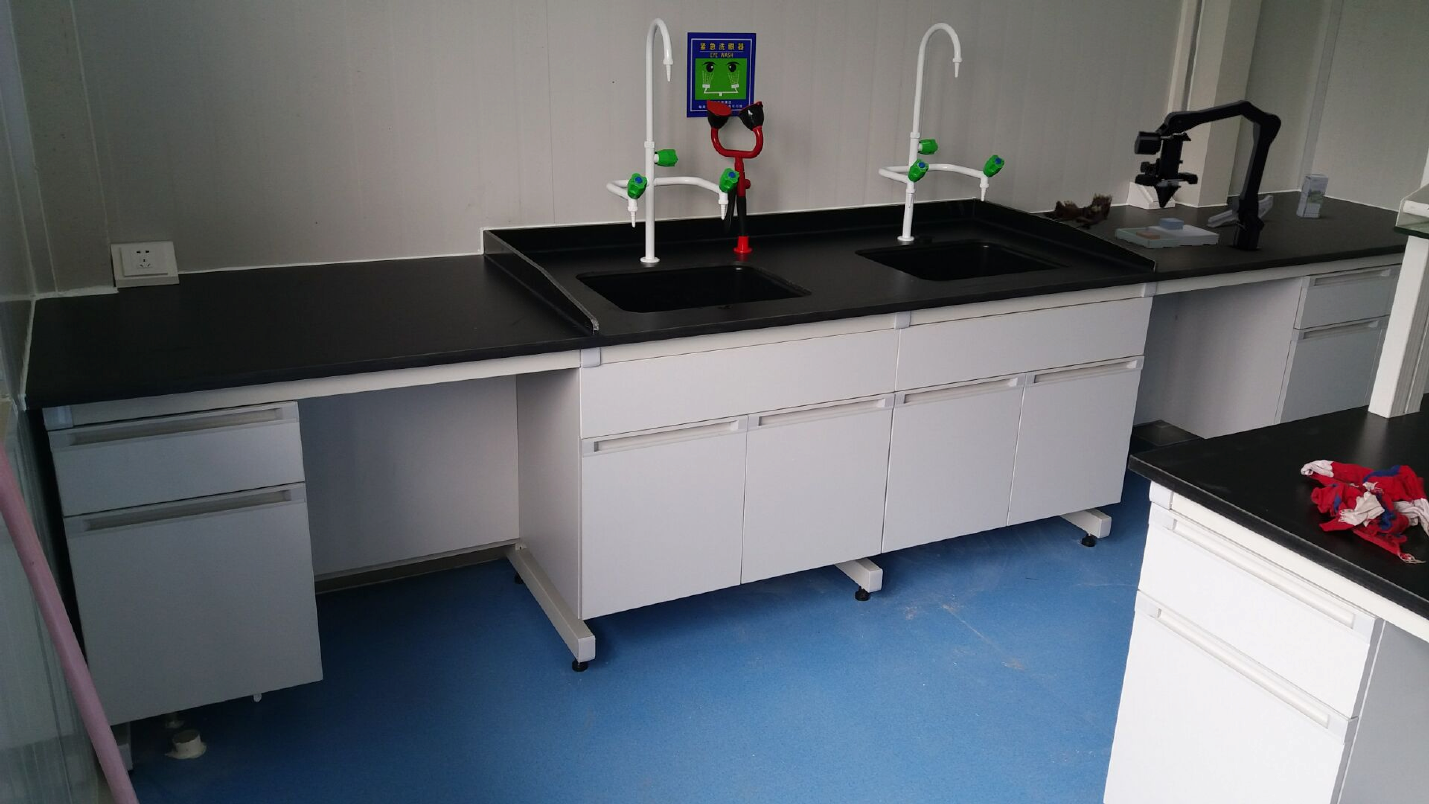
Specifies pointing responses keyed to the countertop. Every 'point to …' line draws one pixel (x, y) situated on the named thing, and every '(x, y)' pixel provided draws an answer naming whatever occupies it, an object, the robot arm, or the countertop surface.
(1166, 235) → the plate
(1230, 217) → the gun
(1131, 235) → the tray
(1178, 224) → the slate blue tile
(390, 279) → the countertop surface
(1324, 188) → the syrup box
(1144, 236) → the terracotta tile
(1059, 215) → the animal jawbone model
